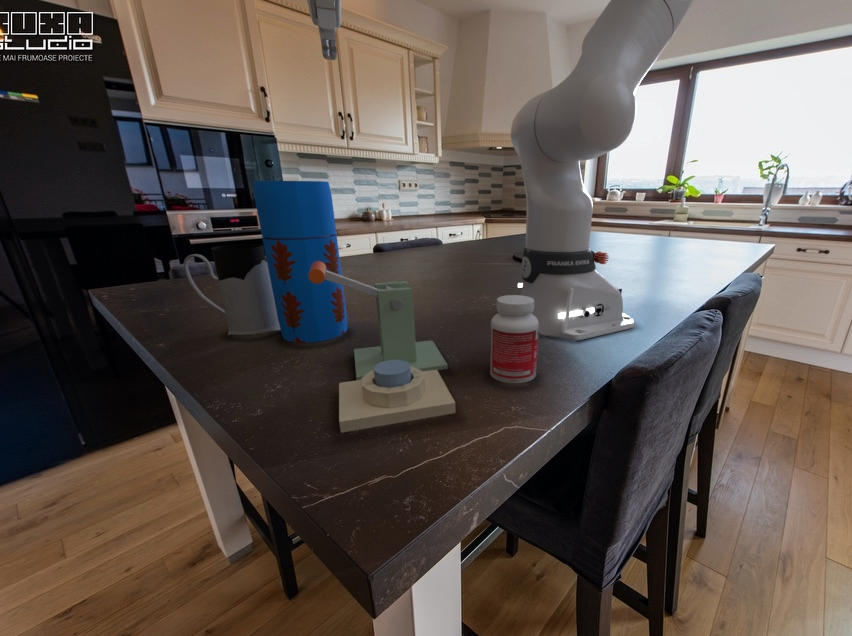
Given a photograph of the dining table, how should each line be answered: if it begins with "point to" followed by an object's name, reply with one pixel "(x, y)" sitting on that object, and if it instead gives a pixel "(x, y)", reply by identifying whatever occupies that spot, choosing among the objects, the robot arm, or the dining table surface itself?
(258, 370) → the dining table surface
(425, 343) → the green lever stand
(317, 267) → the switch lever
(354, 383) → the control block
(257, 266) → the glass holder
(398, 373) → the power button
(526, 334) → the pill bottle
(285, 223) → the thermos
